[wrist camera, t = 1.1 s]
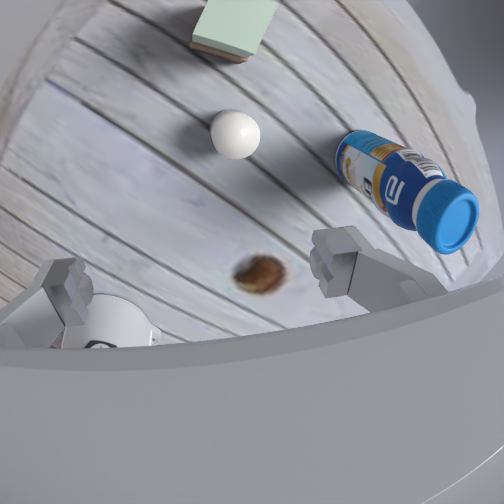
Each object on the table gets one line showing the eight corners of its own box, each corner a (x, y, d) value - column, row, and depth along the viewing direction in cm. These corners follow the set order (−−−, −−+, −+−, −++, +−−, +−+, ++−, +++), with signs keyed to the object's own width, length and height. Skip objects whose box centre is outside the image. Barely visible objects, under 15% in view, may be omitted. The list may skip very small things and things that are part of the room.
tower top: (244, 57, 24) (254, 54, 20) (192, 41, 22) (192, 33, 18) (264, 14, 22) (278, 3, 18) (213, -4, 20) (217, -18, 16)
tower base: (239, 63, 29) (246, 61, 25) (189, 48, 27) (189, 43, 23) (257, 21, 26) (268, 13, 22) (209, 5, 24) (212, -6, 20)
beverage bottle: (392, 151, 38) (493, 213, 22) (359, 194, 41) (446, 275, 25) (356, 116, 35) (469, 164, 18) (320, 163, 38) (412, 241, 21)
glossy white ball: (242, 153, 35) (250, 165, 31) (204, 142, 33) (206, 151, 29) (257, 117, 33) (267, 123, 29) (218, 103, 31) (222, 107, 27)
